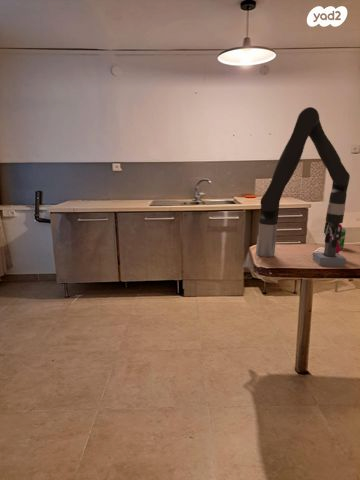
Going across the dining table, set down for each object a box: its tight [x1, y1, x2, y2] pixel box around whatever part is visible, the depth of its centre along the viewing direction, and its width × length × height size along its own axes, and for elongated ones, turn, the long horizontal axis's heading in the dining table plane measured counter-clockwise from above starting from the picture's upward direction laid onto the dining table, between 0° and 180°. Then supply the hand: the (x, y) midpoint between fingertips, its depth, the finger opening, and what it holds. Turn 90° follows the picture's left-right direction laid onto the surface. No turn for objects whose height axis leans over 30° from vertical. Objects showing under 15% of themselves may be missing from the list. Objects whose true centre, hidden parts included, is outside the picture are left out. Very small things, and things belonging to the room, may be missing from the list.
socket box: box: [312, 251, 347, 267], centre depth 156 cm, size 12×9×4 cm
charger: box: [323, 239, 337, 257], centre depth 155 cm, size 4×4×12 cm
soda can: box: [338, 226, 347, 250], centre depth 183 cm, size 8×8×12 cm
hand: (330, 245), depth 154 cm, fingers open, 8 cm apart
